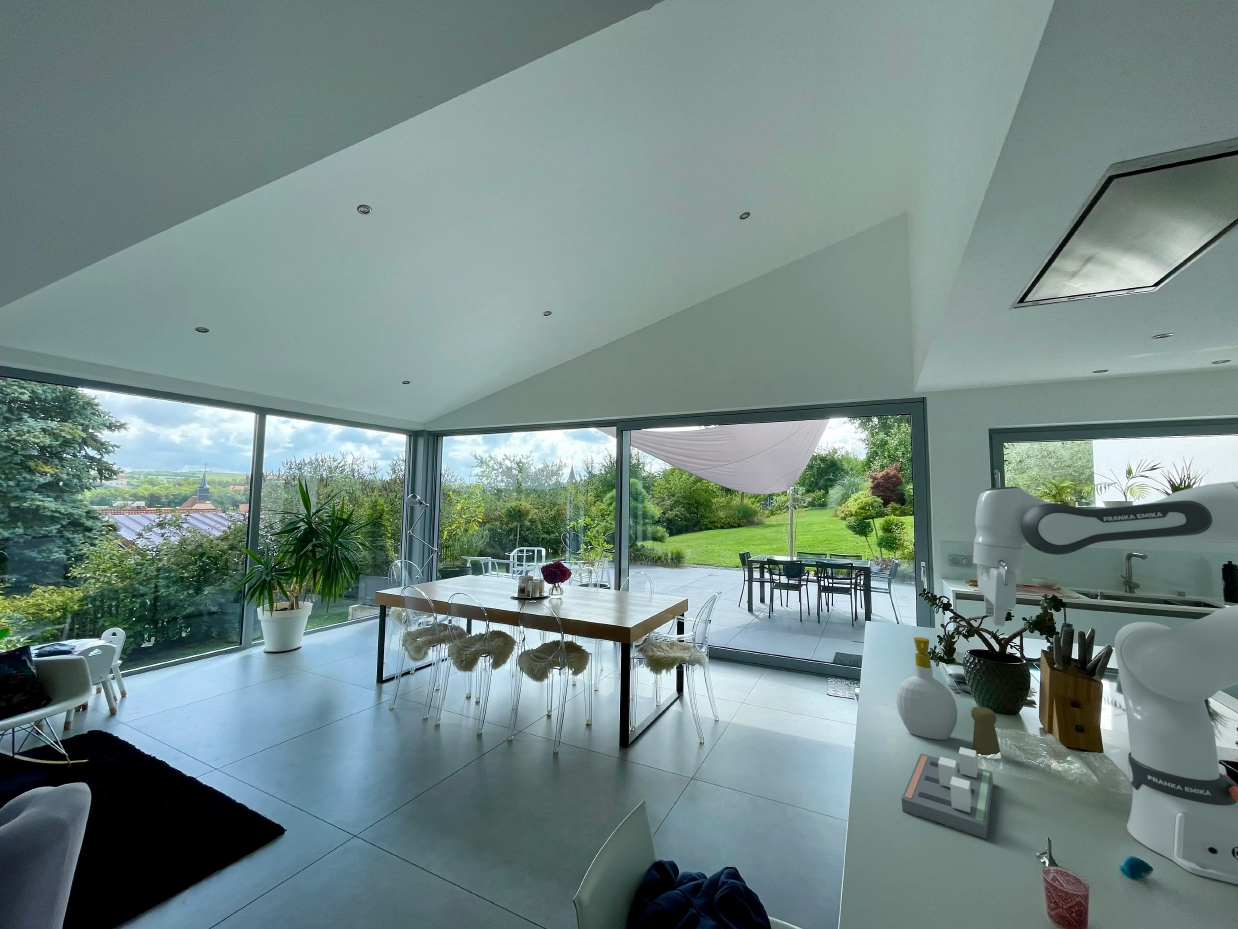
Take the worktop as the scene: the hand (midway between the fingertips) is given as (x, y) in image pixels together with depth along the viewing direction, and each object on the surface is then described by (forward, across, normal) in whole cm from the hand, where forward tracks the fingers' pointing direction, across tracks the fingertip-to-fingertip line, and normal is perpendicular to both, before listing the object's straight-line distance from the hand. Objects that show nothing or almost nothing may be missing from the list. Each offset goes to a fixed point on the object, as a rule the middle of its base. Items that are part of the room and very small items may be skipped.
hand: (994, 620), depth 109 cm
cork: (+38, +20, -3) cm, 43 cm away
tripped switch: (+35, -6, +7) cm, 37 cm away
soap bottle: (+39, +25, +9) cm, 47 cm away
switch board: (+38, -6, +7) cm, 39 cm away
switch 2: (+35, -14, +6) cm, 39 cm away
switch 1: (+35, +1, +3) cm, 35 cm away
